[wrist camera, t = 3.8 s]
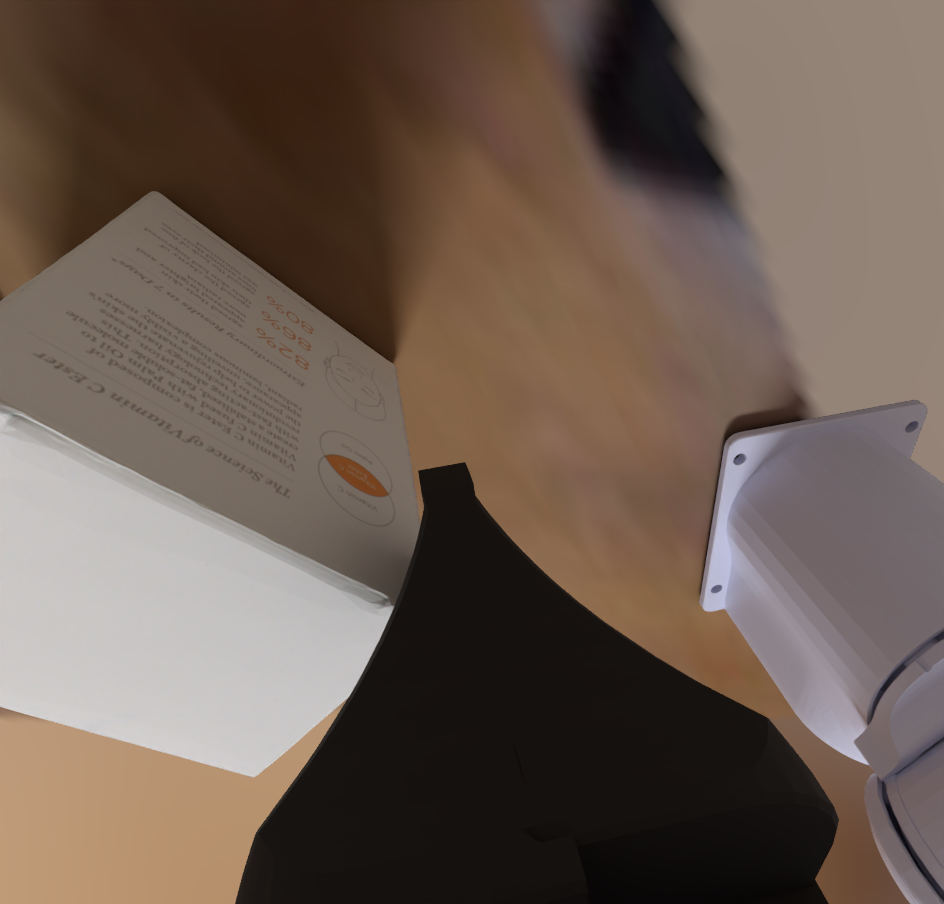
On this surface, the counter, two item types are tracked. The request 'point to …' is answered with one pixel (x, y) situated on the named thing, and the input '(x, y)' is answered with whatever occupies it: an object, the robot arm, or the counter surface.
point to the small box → (192, 497)
